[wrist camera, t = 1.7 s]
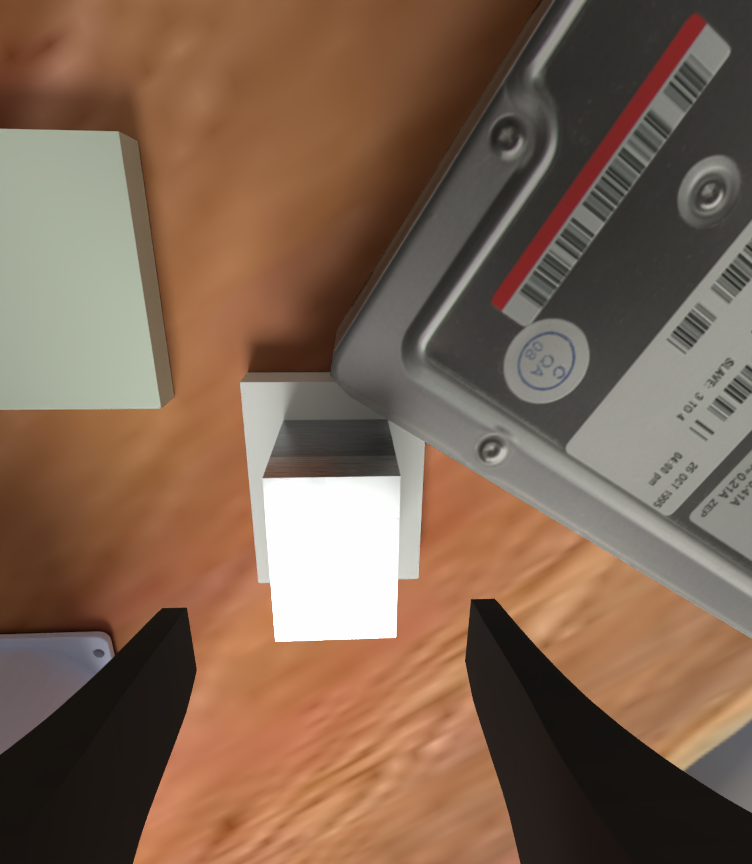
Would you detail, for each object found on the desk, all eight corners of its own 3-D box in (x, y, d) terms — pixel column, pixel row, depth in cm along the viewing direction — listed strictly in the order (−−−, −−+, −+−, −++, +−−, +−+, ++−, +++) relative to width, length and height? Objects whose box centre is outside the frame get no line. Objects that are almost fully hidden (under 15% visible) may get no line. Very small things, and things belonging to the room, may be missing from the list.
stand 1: (174, 396, 20) (161, 408, 18) (-7, 398, 19) (-35, 410, 18) (137, 140, 17) (118, 131, 15) (-80, 136, 16) (-121, 126, 15)
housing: (385, 550, 21) (395, 637, 16) (291, 552, 21) (275, 641, 16) (387, 419, 19) (400, 476, 14) (283, 420, 19) (262, 478, 14)
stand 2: (413, 558, 23) (418, 578, 22) (263, 562, 23) (258, 582, 21) (422, 371, 20) (427, 381, 19) (247, 372, 20) (240, 382, 18)
